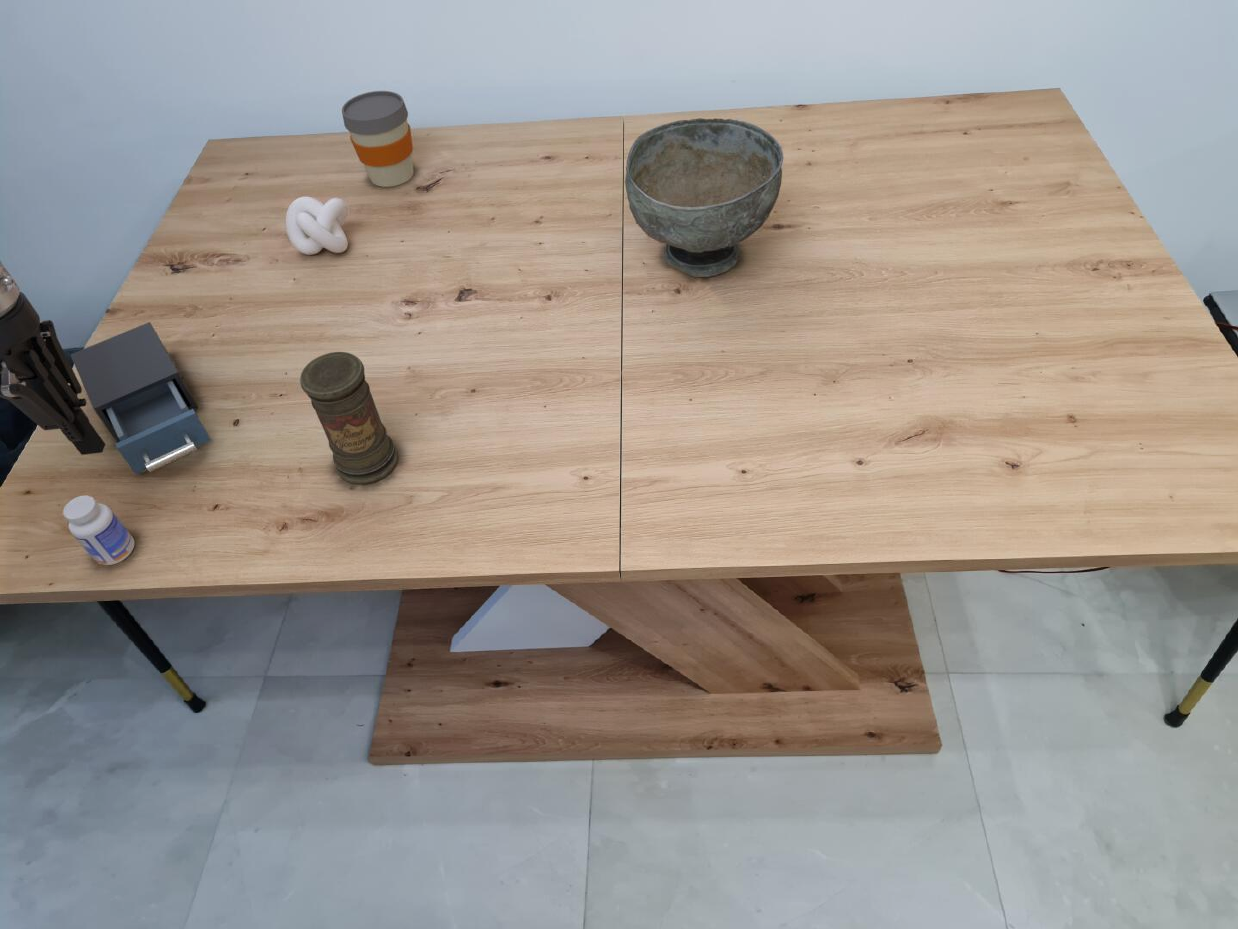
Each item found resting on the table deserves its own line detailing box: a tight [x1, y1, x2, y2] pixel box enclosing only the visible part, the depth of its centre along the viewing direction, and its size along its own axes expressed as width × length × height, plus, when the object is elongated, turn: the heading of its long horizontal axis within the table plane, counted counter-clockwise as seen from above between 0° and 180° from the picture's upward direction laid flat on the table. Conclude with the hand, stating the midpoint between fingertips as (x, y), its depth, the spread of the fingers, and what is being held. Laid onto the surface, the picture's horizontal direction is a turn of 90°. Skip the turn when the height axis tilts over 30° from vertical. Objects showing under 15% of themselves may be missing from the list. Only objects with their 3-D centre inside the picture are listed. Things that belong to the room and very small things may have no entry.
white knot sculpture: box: [285, 196, 349, 256], centre depth 167 cm, size 11×12×9 cm
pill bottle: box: [62, 494, 135, 566], centre depth 121 cm, size 5×5×10 cm
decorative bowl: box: [624, 117, 784, 278], centre depth 153 cm, size 26×26×20 cm
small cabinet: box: [70, 321, 199, 443], centre depth 142 cm, size 16×13×8 cm
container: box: [299, 351, 399, 486], centre depth 125 cm, size 9×9×18 cm
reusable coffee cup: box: [341, 90, 414, 188], centre depth 181 cm, size 13×13×15 cm
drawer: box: [105, 380, 212, 476], centre depth 135 cm, size 19×11×6 cm, turn 35°
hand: (93, 449), depth 118 cm, fingers closed
